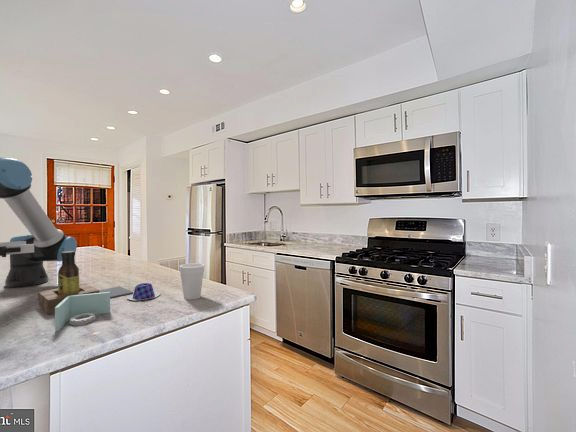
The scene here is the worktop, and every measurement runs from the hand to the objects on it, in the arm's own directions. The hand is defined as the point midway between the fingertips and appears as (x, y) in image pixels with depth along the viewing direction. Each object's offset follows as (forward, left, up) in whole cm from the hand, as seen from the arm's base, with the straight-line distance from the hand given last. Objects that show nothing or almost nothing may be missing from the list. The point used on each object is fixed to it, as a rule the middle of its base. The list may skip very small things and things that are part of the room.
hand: (29, 246), depth 97 cm
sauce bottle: (0, +11, -23) cm, 25 cm away
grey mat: (-3, +26, -23) cm, 35 cm away
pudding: (+12, +33, -23) cm, 42 cm away
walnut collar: (0, +11, -23) cm, 25 cm away
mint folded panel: (+23, +10, -24) cm, 34 cm away
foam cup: (+28, +45, -23) cm, 58 cm away
